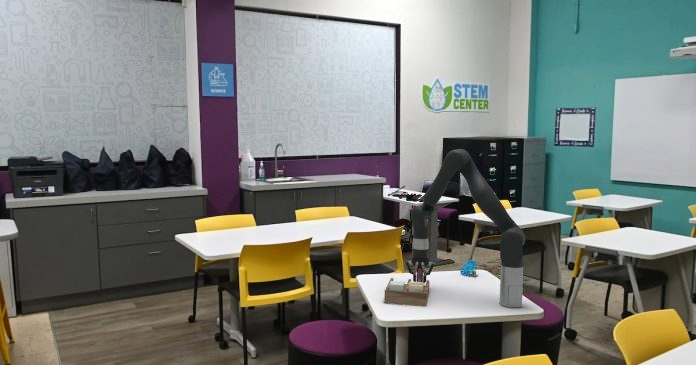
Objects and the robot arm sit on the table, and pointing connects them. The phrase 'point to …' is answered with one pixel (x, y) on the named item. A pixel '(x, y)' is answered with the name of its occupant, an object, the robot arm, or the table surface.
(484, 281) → the table surface
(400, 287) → the sage block
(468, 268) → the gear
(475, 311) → the table surface
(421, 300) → the wooden tray
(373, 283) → the table surface
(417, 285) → the purple handled mallet
